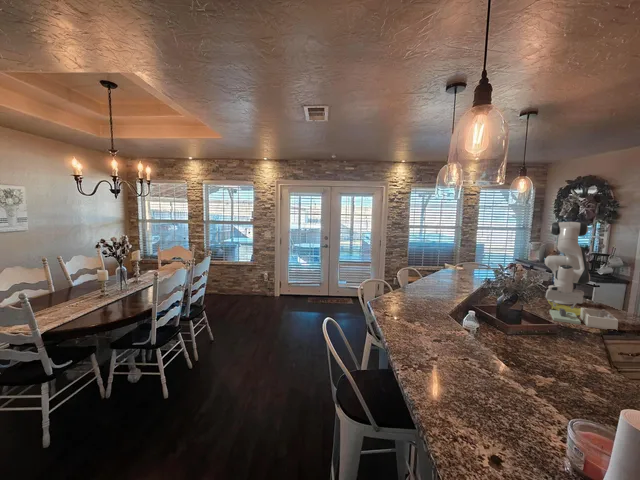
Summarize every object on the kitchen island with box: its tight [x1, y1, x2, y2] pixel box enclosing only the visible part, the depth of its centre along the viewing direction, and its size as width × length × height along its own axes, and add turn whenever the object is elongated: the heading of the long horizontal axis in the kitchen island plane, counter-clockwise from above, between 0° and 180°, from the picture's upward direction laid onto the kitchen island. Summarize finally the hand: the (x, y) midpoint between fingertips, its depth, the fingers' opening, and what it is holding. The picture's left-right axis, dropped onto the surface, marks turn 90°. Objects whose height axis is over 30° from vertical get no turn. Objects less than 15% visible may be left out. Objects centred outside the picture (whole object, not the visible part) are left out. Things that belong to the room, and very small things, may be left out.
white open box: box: [579, 307, 619, 331], centre depth 190 cm, size 20×14×9 cm
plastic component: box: [547, 300, 583, 317], centre depth 215 cm, size 20×7×10 cm
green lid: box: [549, 308, 582, 325], centre depth 201 cm, size 20×14×6 cm
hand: (563, 307), depth 201 cm, fingers open, 8 cm apart
